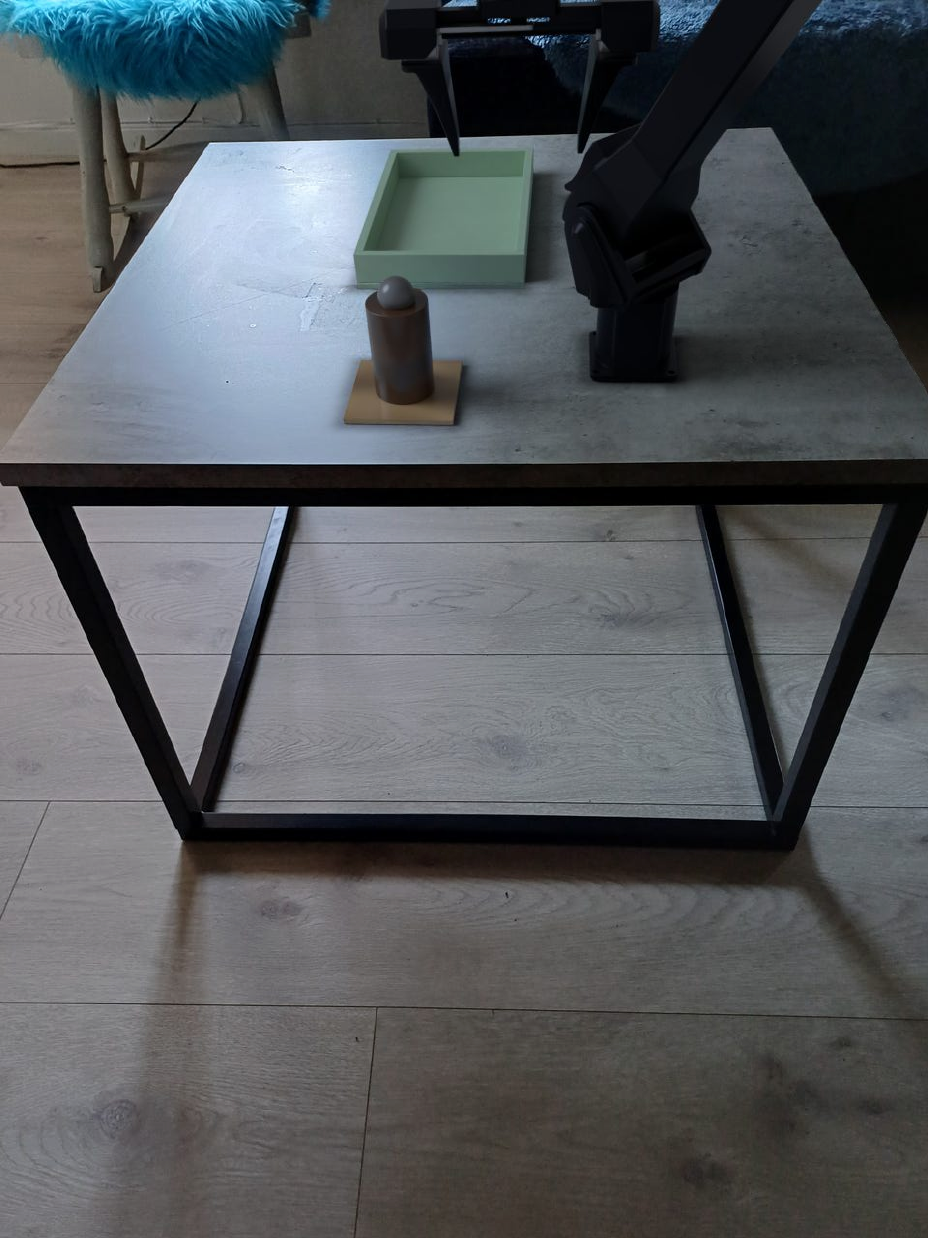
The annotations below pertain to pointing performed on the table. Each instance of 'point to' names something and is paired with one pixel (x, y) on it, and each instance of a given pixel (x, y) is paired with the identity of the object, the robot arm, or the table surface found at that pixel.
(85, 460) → the table surface
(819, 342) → the table surface
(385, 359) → the pepper mill
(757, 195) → the table surface
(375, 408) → the cork mat
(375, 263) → the tray
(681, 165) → the robot arm
